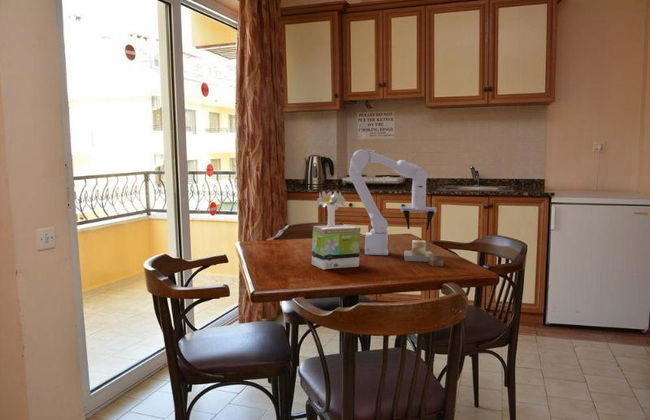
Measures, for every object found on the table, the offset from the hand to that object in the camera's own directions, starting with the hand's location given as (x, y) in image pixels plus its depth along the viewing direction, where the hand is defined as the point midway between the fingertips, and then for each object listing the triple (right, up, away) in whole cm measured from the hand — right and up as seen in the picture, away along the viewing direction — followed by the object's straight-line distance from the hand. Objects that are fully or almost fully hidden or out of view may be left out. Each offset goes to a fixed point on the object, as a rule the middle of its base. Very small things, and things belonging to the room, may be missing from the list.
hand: (417, 229), depth 210 cm
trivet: (-1, -11, -9) cm, 14 cm away
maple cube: (-1, -9, -9) cm, 13 cm away
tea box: (-35, -13, -23) cm, 44 cm away
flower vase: (-36, -9, +17) cm, 41 cm away
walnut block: (+3, -13, -20) cm, 24 cm away
